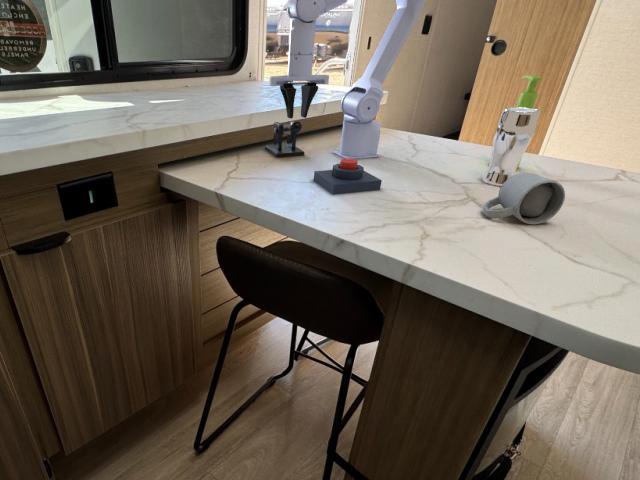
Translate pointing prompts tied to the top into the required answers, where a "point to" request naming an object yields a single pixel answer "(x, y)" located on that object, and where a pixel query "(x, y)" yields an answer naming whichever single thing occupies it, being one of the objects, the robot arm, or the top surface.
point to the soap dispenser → (529, 94)
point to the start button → (348, 164)
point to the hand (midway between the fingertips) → (296, 117)
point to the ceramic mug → (527, 199)
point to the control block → (346, 180)
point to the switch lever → (292, 128)
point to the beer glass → (510, 142)
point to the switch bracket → (283, 149)
